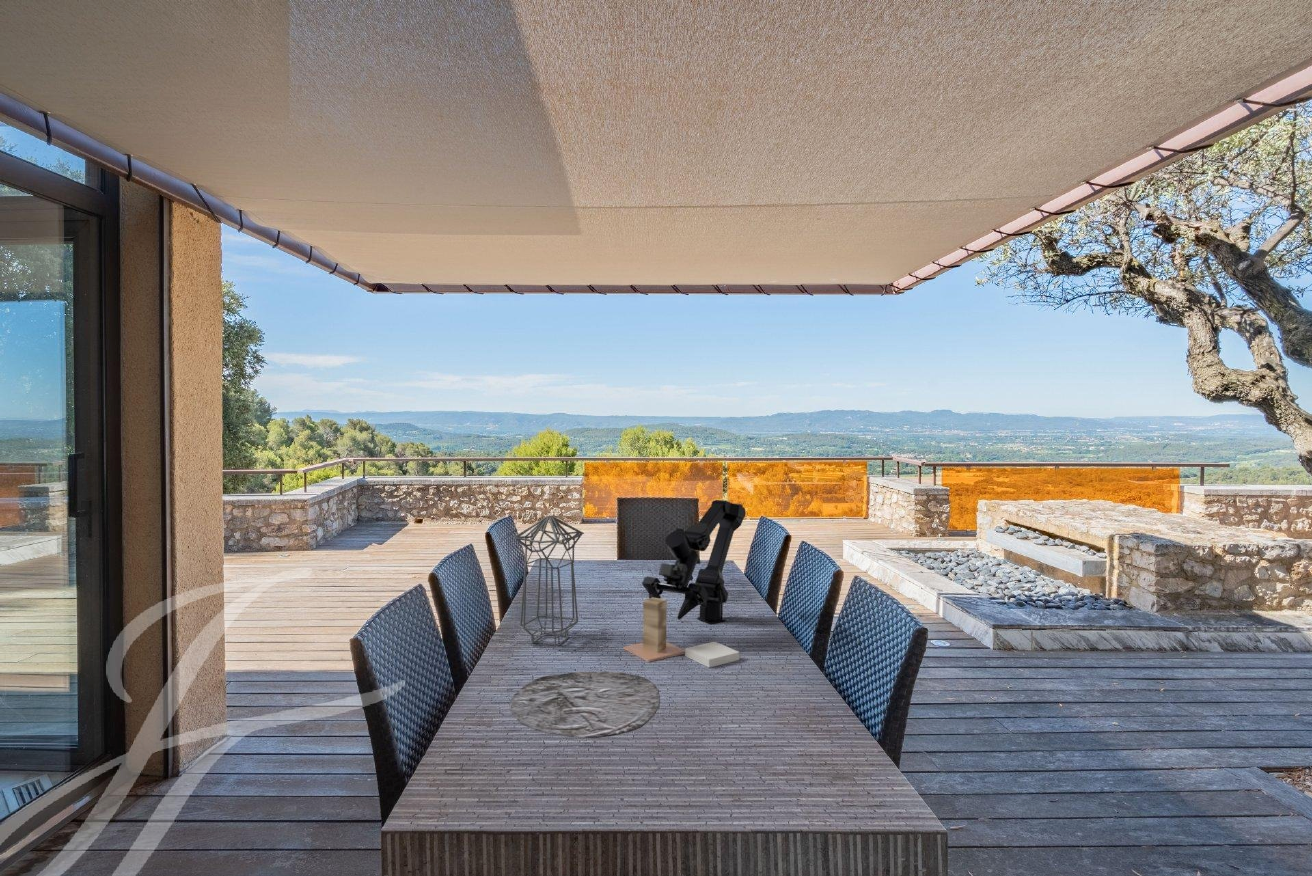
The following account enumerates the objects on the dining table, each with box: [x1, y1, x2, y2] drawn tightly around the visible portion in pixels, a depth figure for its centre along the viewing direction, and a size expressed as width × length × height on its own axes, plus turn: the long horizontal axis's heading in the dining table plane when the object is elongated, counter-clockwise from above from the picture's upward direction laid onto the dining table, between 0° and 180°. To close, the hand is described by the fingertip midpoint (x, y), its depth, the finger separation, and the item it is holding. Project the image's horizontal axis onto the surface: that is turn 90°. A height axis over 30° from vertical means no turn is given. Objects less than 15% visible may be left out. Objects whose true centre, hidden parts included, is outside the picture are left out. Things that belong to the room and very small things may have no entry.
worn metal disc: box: [509, 670, 661, 739], centre depth 149 cm, size 33×35×1 cm
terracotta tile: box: [623, 641, 685, 663], centre depth 182 cm, size 12×12×1 cm
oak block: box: [642, 597, 668, 653], centre depth 181 cm, size 4×4×13 cm
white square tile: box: [684, 641, 740, 668], centre depth 177 cm, size 10×10×2 cm
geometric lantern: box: [513, 515, 585, 646], centre depth 190 cm, size 16×16×35 cm
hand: (663, 616), depth 185 cm, fingers open, 9 cm apart
